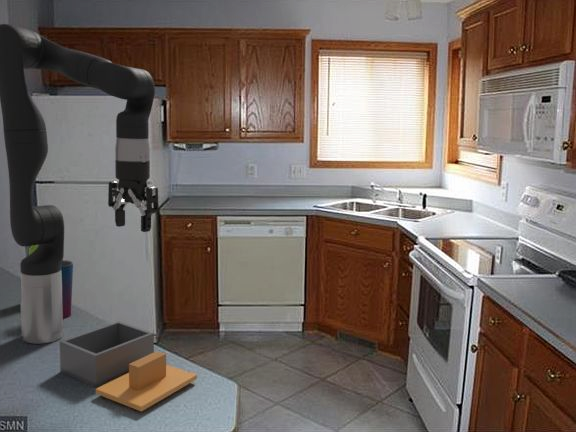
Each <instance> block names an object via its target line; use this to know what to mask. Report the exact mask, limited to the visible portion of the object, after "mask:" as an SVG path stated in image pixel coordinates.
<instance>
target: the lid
mask: <svg viewBox="0 0 576 432" xmlns="http://www.w3.org/2000/svg"><path fill="white" fill-rule="evenodd" d="M197 376H198V374H195V373H193V372H190V371H186V370H184V369H182V368H179V367H175V366H172V365H170V364H167V353H165V352H161V351H160V350H159V351H158V350H156V351H154V352H153V353H151V354H149V355H147V356H145V357H143V358H141V359H139V360H137V361H134V362H132V363H130V364H129V373H127V374H125V375H123V376H121V377H119V378H117V379H115V380H112V381H110V382H108V383H106V384H103V385H101V386H99V387H96V388H95V394H96V395H98V396H100V397H104V398H106V399H109V400H111V401H113V402H116V403H119V404H121V405H124V406H126V407H129V408H132V409H134V410H136V411H139V412H143V411H145V410H147V409H149V408H150V407H151V406H154V405H155V404H157V403H158V402H160V401H162V400H163V399H166V398H167V397H169V396H171V395H172V394H175V393H176V392H177V391H179V390H181V389H182V388H184V387H186V386H188V385H189V384H191V383H194V382H195V381H197V379H198V377H197Z"/></svg>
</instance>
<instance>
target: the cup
mask: <svg viewBox="0 0 576 432" xmlns="http://www.w3.org/2000/svg"><path fill="white" fill-rule="evenodd" d="M61 273H62V308H63V319H66V318H70V317H72V316H71V315H72V301H73V300H72V298H73V278H74V277H73V273H74V262H73V261H71V260H64V259H63V261H62V264H61Z"/></svg>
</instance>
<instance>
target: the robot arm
mask: <svg viewBox="0 0 576 432" xmlns="http://www.w3.org/2000/svg"><path fill="white" fill-rule="evenodd" d="M29 69H33V70H40V71H41V70H43V71H50V72H53V73H57V74H60V75H62V76H64V77H66V78H68V79H69V80H71V81H73V82H76V83H79V84H81V85H83V86H86V87H90V88H93V89H96V90H99V91H102V92H103V93H106V94H107V95H109V96H111V97H113V98H117V99H121V100H125V101H126V103H125V108H124V110H122V111H120V112H118V113H117V115H116V119H115V121H116V122H115V128H116V129H115V130H116V131H115V132H116V135H115V137H116V138H115V139H116V140H115V147H114V148H115V149H114V154H115V157H114V158H115V159H114V160H115V161H114V162H115V163H114V164H115V166H114V167H115V168H114V169H115V171H114V172H115V173H114V174H115V178H116V179H117V180H115V181H109V182H108V195H107V197H108V199H107V201H108V202H107V204H108V205H107V206H108V207H109V208H110V207H111V208H113V210H114V222H115V226H116V227H125V225H126V207H127V205H128V204H129V203H130V204H132V205H135V207H136V208H138V210H139V213H140V214H141V215H140V231H141V232H142V233H149V232H151V230H152V229H151V228H152V216H153V215H154V214H157V213H158V214H159V211H160V209H159V208H160V207H159V188H158V186H148V180H149V179H150V177H151V176H150V175H151V174H150V171H151V169H150V168H151V166H150V165H151V157H150V155H151V151H150V150H151V148H150V143H149V141H150V140H149V135H150V134H149V131H150V129H149V127H150V126H149V125H150V124H149V121H150V120H149V119H150V115H151V111H152V108H153V104H154V99H155V93H156V92H155V90H156V87H155V81H154V78H153V77H152V75H151V74H150V72H149V71H147V70H145V69H143V68H135V67H130V66H125V65H123V64H122V65H121V64H117V63H114V62H113V61H111V60H109V59H106V58H104V57H101V56H99V55H95V54H91V53H88V52H84V51H80V50H76V49H71V48H69V47H65V46H62V45H60V44H58V43H56V42H53V41H52V40H49V39H48V38H46V37H44V36H43V35H42V34H41V35H40V34H39V33H37V32H35V31H34V30H31V29H29V28H24V27H21V26H17V25H13V24H7V23H1V24H0V107H1V115H2V127H3V137H4V139H3V140H4V146H5V153H6V161H7V171H8V180H9V219H10V221H9V222H10V230H11V234H12V237H13V240H14V241H15V243H16V244H17V245H19V246H20V247H24V248H25V247H32V246H33V245H38V247H37V248H36V250H35V251H34V252H33V253H31V254H30V255H29V254H28V256H26V257H24V258H22V259H21V260H20V261H21V262H20V264H19V266H20V267H19V268H20V284H21V285H20V287H21V299H20V324H21V337H22V340H23V341H24V342H25V343H27V344H28V343H29V344H34V345H35V344H37V345H38V344H48V343H52V342H56V341H57V340H60V339H61V338H63V336H64V325H63V324H64V321H63V320H64V318H63V308H62V273H61V264H62V261H63V260H64V256H65V254H64V253H65V252H64V250H65V221H64V216H63V214H62V212H61V210H60V209H59V207H57V206H56V205H52V204H48V205H45V204H44V205H38V206H34V205H33V202H34V201H33V193H34V192H33V190H34V187H35V182H36V179H37V177H38V175H39V173H40V171H41V169H42V168H43V165H44V164H45V161H46V159H47V157H48V152H49V144H48V132H47V127H46V126H47V125H46V123H45V119H44V117H43V114H42V113H41V111H40V109H39V108H38V106H37V104H36V102H35V101H34V100H33V97H32V96H31V93H30V91H29V90H28V86H27V82H26V77H25V70H29Z"/></svg>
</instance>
